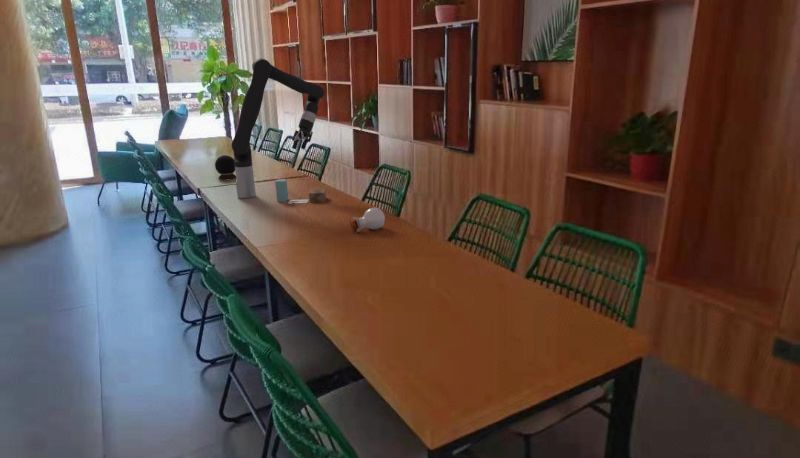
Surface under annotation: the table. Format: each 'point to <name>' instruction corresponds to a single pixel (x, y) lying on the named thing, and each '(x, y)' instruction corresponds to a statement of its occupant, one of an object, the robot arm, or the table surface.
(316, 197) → the walnut base brick
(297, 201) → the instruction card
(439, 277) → the table surface
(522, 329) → the table surface
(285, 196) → the teal brick
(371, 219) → the potion bottle
